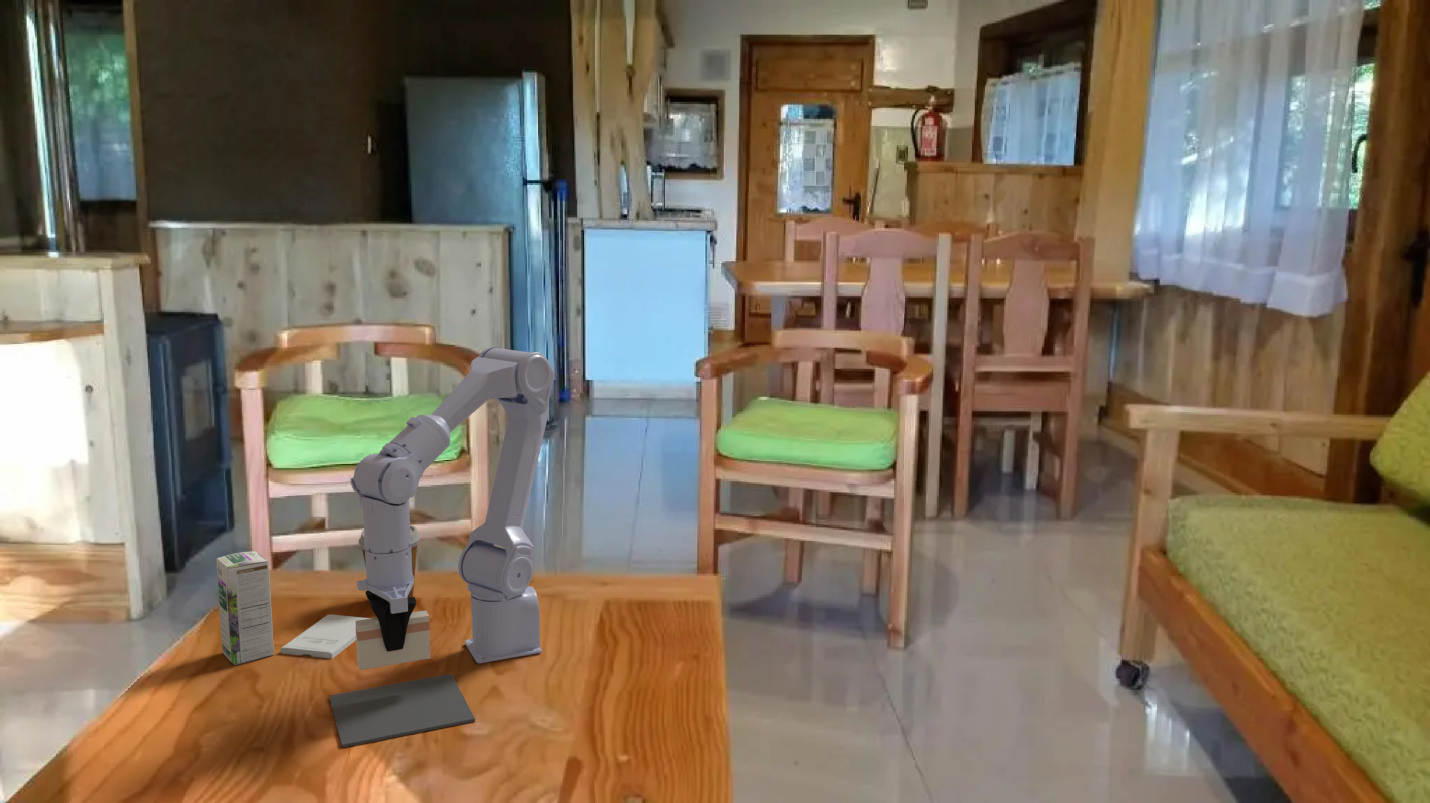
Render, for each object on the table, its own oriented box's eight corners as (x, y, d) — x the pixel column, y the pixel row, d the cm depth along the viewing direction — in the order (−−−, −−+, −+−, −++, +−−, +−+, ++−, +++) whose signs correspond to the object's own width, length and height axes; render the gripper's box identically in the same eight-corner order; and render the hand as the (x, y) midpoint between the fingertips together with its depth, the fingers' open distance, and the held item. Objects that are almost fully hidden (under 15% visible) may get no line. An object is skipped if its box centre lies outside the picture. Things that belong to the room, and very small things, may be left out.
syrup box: (221, 653, 155) (213, 557, 152) (263, 642, 159) (256, 548, 156) (233, 666, 151) (225, 568, 148) (276, 655, 154) (269, 559, 152)
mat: (451, 676, 148) (451, 673, 148) (475, 721, 136) (474, 718, 136) (329, 698, 142) (329, 695, 142) (342, 747, 129) (342, 744, 129)
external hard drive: (375, 628, 166) (332, 662, 154) (327, 623, 167) (280, 656, 155) (375, 618, 165) (332, 651, 153) (326, 613, 167) (280, 646, 155)
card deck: (427, 652, 144) (426, 610, 143) (430, 658, 142) (429, 615, 141) (357, 663, 140) (355, 620, 139) (359, 670, 139) (357, 626, 137)
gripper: (348, 534, 143) (353, 630, 146) (363, 568, 130) (369, 673, 133) (402, 527, 146) (407, 621, 149) (422, 560, 133) (427, 663, 136)
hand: (392, 645), depth 141 cm, fingers closed on card deck, 2 cm apart
